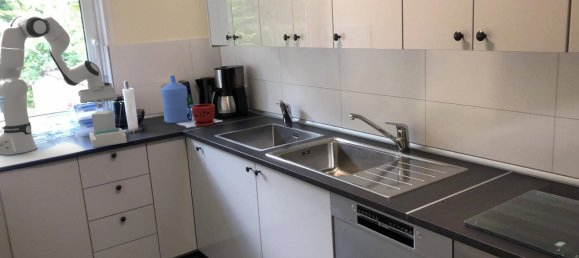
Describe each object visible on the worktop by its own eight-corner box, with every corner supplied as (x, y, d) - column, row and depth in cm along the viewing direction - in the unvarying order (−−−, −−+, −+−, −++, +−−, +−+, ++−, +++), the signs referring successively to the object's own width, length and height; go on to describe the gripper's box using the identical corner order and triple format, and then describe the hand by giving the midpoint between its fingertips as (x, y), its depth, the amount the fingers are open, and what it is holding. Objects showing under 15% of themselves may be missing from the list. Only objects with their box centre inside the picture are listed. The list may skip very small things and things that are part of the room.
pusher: (96, 143, 279) (95, 131, 278) (120, 140, 284) (118, 127, 282) (97, 145, 276) (95, 132, 274) (121, 141, 280) (119, 129, 279)
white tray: (90, 139, 290) (88, 129, 289) (121, 135, 297) (120, 124, 296) (93, 147, 273) (91, 136, 271) (126, 142, 279) (125, 131, 278)
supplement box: (117, 136, 295) (113, 110, 292) (111, 140, 286) (107, 113, 283) (101, 137, 296) (98, 110, 292) (95, 141, 287) (91, 114, 284)
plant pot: (217, 126, 305) (215, 105, 302) (194, 128, 302) (192, 108, 299) (215, 121, 317) (213, 102, 314) (193, 124, 314) (190, 104, 312)
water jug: (172, 124, 317) (167, 78, 310) (159, 121, 328) (154, 76, 322) (195, 119, 327) (190, 74, 320) (181, 117, 338) (176, 73, 332)
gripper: (77, 87, 300) (80, 106, 294) (114, 82, 308) (118, 101, 302) (78, 93, 305) (81, 113, 299) (114, 89, 313) (118, 108, 307)
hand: (100, 107), depth 300 cm, fingers closed
